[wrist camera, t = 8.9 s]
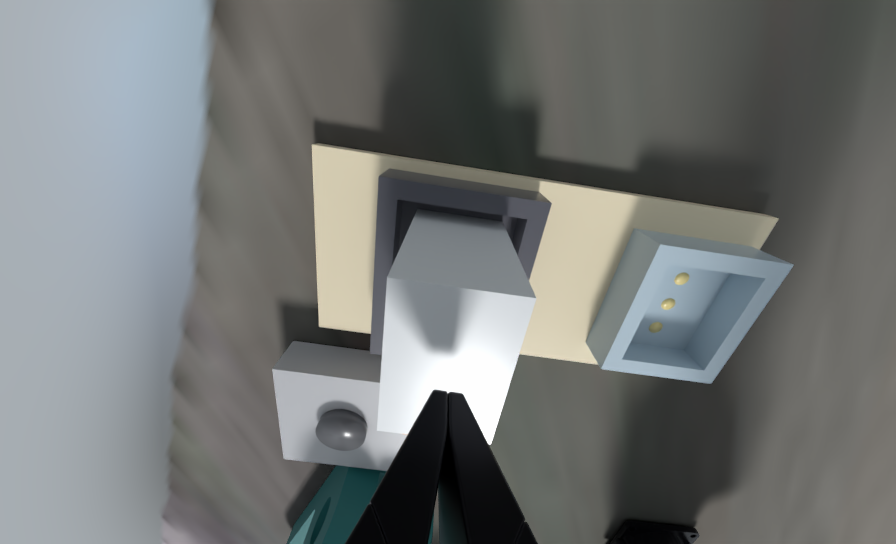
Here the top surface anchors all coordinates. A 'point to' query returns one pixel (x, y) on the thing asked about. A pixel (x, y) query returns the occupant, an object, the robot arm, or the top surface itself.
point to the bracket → (338, 507)
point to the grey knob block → (332, 407)
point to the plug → (452, 319)
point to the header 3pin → (681, 305)
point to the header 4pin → (452, 196)
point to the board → (558, 258)
